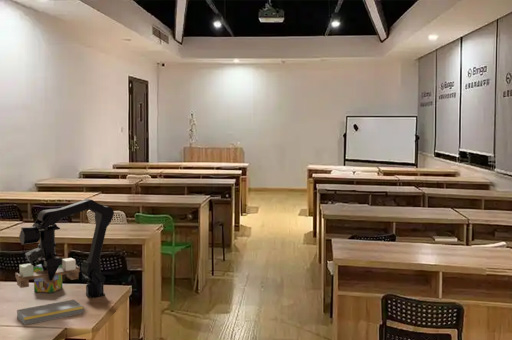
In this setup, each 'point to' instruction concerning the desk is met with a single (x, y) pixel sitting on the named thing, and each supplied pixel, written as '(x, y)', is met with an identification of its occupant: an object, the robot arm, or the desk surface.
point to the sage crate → (26, 270)
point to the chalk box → (44, 287)
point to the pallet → (46, 276)
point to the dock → (49, 312)
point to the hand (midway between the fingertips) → (48, 278)
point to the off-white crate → (68, 264)
